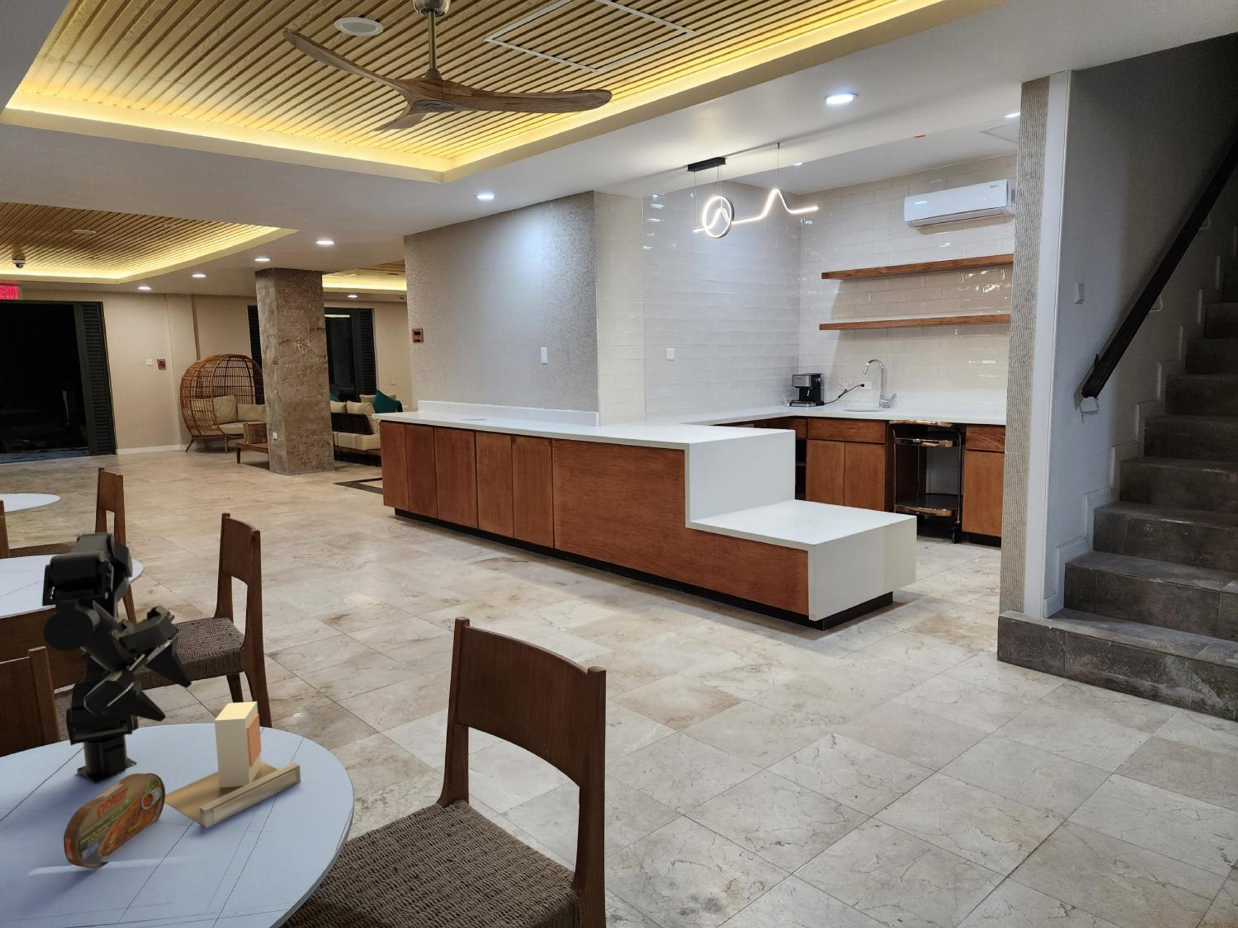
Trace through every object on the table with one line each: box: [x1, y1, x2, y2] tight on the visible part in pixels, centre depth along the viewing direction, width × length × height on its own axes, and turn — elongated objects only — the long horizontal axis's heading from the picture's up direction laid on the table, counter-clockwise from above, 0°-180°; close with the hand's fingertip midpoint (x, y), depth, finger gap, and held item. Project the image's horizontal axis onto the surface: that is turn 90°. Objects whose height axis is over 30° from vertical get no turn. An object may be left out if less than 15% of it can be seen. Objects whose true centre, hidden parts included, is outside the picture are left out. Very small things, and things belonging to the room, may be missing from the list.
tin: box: [63, 772, 166, 869], centre depth 110 cm, size 15×3×8 cm, turn 168°
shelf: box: [164, 760, 301, 829], centre depth 123 cm, size 14×15×3 cm
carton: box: [214, 701, 262, 787], centre depth 126 cm, size 5×6×11 cm
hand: (176, 701), depth 123 cm, fingers open, 9 cm apart
